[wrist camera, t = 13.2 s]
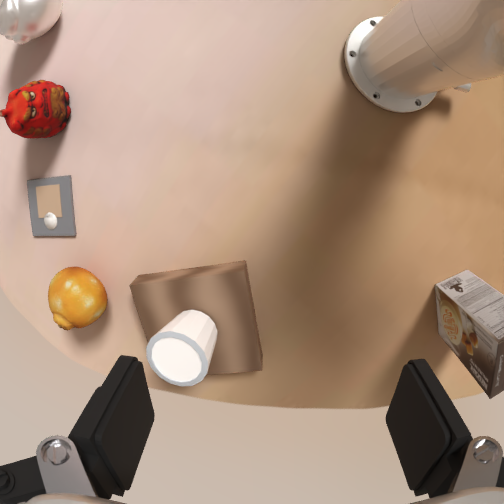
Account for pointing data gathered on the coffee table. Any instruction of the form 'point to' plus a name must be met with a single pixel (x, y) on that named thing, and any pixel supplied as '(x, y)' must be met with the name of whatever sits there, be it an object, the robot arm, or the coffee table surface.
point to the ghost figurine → (28, 18)
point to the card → (51, 206)
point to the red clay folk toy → (37, 110)
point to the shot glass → (183, 348)
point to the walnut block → (205, 310)
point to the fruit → (76, 298)
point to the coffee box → (473, 327)
